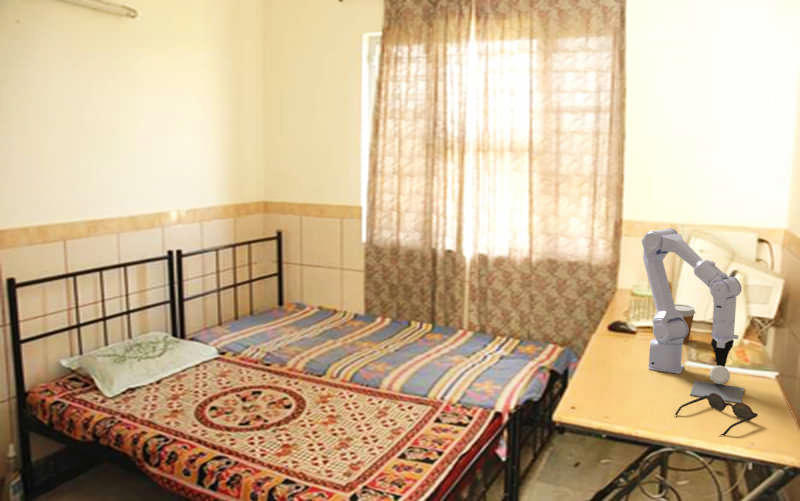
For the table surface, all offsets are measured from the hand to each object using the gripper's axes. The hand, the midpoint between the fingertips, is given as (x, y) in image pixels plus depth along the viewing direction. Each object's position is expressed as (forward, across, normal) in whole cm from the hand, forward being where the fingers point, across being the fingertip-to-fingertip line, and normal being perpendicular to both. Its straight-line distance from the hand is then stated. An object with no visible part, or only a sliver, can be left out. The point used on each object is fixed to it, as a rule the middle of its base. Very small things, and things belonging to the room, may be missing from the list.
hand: (721, 364), depth 193 cm
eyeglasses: (+7, -26, 0) cm, 27 cm away
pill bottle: (+4, +2, 0) cm, 5 cm away
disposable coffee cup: (+6, +41, +16) cm, 44 cm away
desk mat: (+7, -5, 0) cm, 8 cm away
